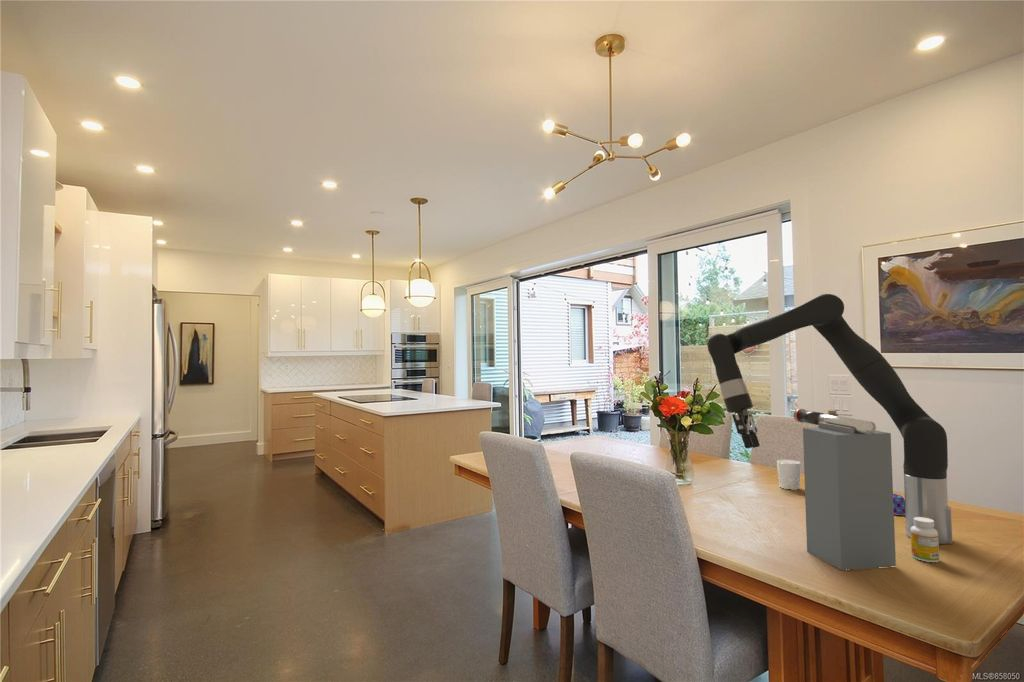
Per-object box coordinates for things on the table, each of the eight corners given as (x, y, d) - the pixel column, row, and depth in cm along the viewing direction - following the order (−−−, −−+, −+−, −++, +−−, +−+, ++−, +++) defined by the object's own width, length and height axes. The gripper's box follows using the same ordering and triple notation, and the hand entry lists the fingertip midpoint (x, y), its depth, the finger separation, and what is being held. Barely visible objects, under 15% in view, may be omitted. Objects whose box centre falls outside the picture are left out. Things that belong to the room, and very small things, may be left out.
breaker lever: (793, 422, 143) (793, 408, 143) (806, 421, 144) (805, 408, 144) (862, 436, 118) (862, 420, 119) (877, 435, 119) (877, 419, 119)
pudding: (861, 508, 166) (860, 492, 166) (885, 504, 171) (885, 488, 171) (900, 519, 155) (899, 502, 155) (925, 514, 159) (924, 497, 159)
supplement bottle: (911, 552, 129) (910, 514, 129) (939, 558, 125) (937, 518, 126) (911, 559, 125) (909, 520, 125) (939, 565, 121) (938, 524, 121)
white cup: (772, 486, 194) (772, 460, 195) (788, 484, 197) (788, 458, 197) (789, 491, 187) (788, 464, 187) (806, 489, 189) (805, 462, 189)
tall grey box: (807, 551, 131) (802, 422, 132) (856, 548, 132) (852, 421, 133) (841, 570, 119) (836, 429, 120) (895, 567, 120) (890, 427, 121)
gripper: (742, 391, 149) (760, 445, 144) (753, 393, 160) (771, 444, 155) (717, 397, 153) (734, 451, 148) (729, 399, 164) (746, 449, 159)
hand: (753, 447), depth 152 cm, fingers open, 8 cm apart
